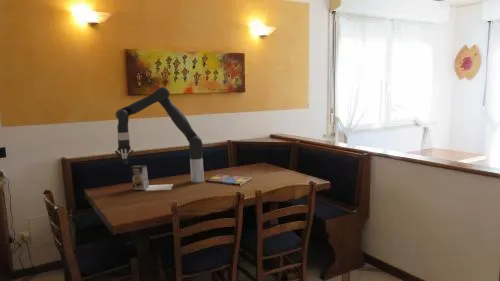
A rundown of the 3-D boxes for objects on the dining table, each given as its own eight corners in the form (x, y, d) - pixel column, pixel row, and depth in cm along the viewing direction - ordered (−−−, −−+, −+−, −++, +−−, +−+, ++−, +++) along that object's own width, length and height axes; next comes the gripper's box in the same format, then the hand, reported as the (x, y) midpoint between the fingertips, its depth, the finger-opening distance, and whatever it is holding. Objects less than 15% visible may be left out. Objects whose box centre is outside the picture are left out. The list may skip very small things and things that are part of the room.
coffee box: (132, 189, 270) (129, 167, 268) (138, 187, 276) (135, 165, 274) (144, 190, 267) (141, 167, 265) (149, 187, 274) (146, 164, 271)
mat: (173, 184, 281) (173, 184, 281) (170, 189, 268) (170, 189, 268) (149, 186, 280) (148, 185, 279) (145, 190, 267) (145, 190, 267)
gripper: (134, 137, 270) (136, 162, 273) (115, 138, 269) (116, 163, 272) (132, 139, 263) (134, 164, 265) (112, 140, 262) (114, 165, 264)
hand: (125, 163), depth 269 cm, fingers closed
